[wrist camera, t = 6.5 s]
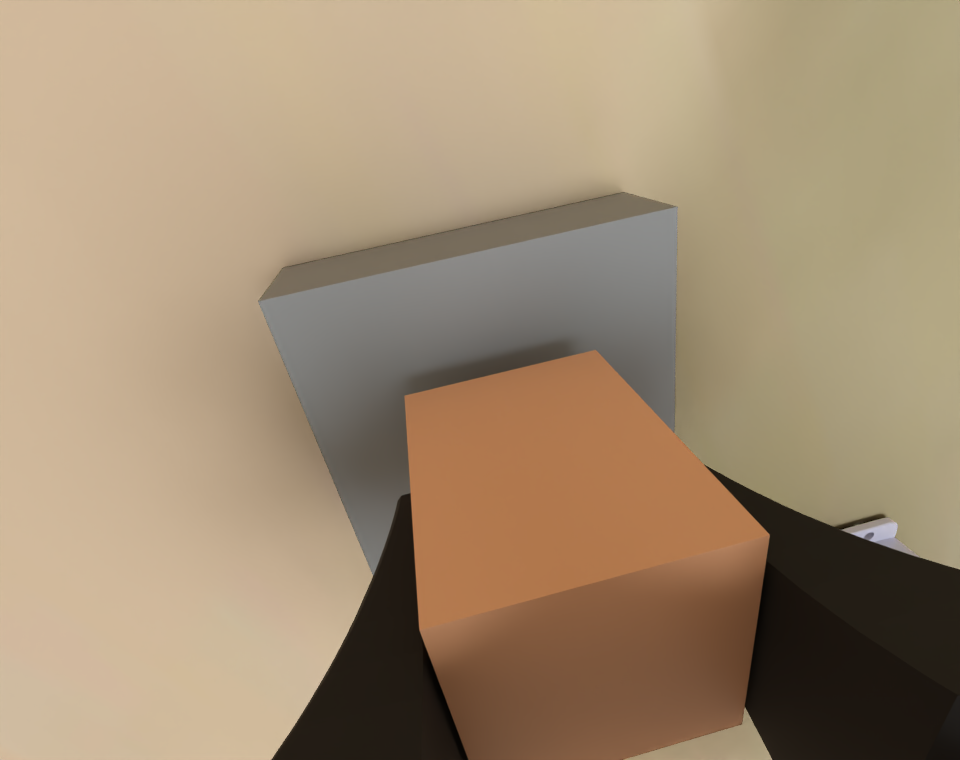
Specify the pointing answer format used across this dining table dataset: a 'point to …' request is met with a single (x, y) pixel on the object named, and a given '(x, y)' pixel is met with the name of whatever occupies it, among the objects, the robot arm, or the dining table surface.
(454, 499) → the terracotta block
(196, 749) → the dining table surface
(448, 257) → the slate base
